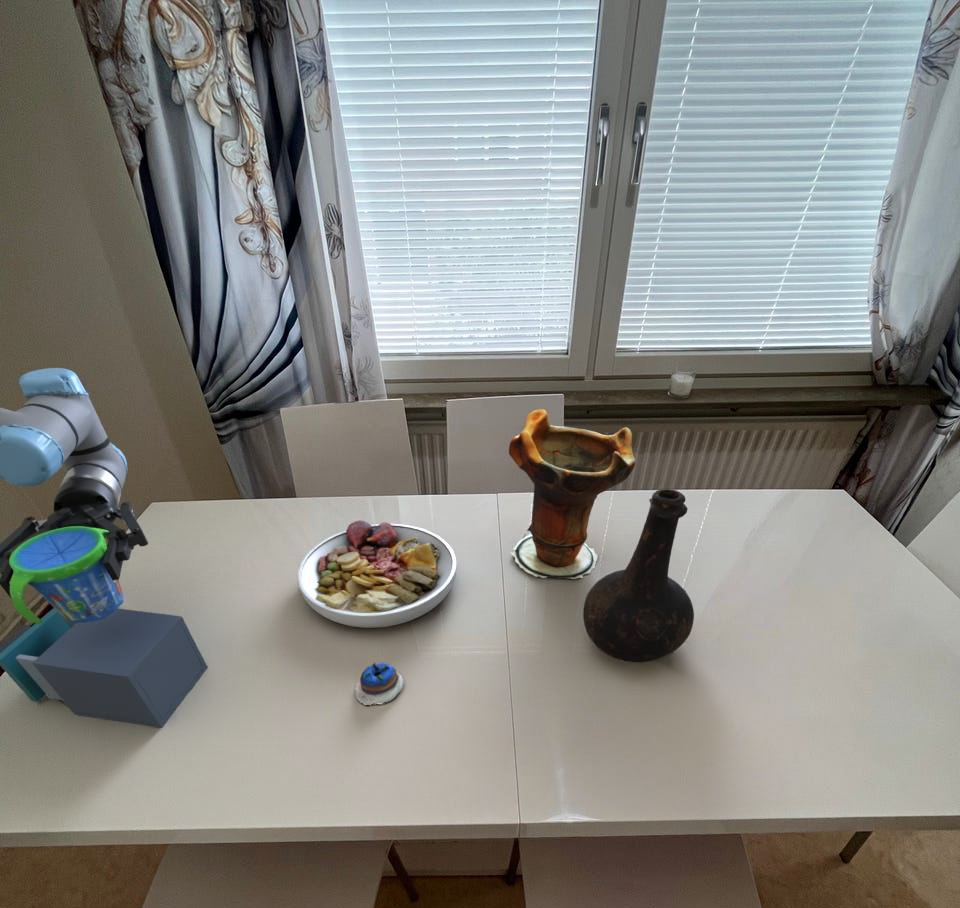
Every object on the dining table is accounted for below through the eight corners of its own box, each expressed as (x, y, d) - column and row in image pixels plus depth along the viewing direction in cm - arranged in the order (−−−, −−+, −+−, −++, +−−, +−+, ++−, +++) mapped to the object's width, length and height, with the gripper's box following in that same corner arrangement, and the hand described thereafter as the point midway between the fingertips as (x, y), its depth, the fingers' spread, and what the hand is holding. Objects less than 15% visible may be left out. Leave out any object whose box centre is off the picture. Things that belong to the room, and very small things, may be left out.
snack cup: (70, 654, 68) (23, 592, 61) (17, 632, 71) (-34, 570, 64) (167, 586, 79) (137, 526, 72) (117, 569, 82) (83, 510, 75)
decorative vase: (618, 591, 104) (649, 451, 84) (500, 583, 106) (505, 445, 86) (611, 533, 119) (636, 404, 100) (508, 527, 121) (513, 399, 101)
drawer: (-3, 695, 83) (-44, 653, 77) (52, 645, 91) (20, 602, 85) (110, 713, 81) (77, 670, 74) (156, 659, 89) (131, 617, 82)
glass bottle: (582, 676, 87) (610, 527, 68) (575, 607, 100) (597, 465, 81) (692, 682, 86) (753, 532, 67) (671, 611, 99) (717, 468, 80)
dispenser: (74, 714, 82) (31, 663, 74) (128, 656, 91) (95, 605, 83) (161, 728, 80) (127, 676, 72) (208, 667, 89) (182, 616, 81)
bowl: (483, 606, 100) (483, 572, 95) (327, 657, 90) (317, 623, 85) (422, 530, 120) (419, 499, 114) (287, 566, 110) (277, 533, 104)
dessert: (390, 659, 89) (393, 651, 83) (407, 694, 88) (412, 689, 83) (345, 679, 86) (346, 673, 81) (363, 716, 86) (364, 712, 80)
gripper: (179, 508, 87) (172, 585, 72) (16, 534, 82) (-28, 624, 67) (160, 465, 82) (148, 537, 67) (-15, 489, 77) (-71, 575, 61)
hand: (60, 580), depth 67 cm, fingers closed on snack cup, 11 cm apart
